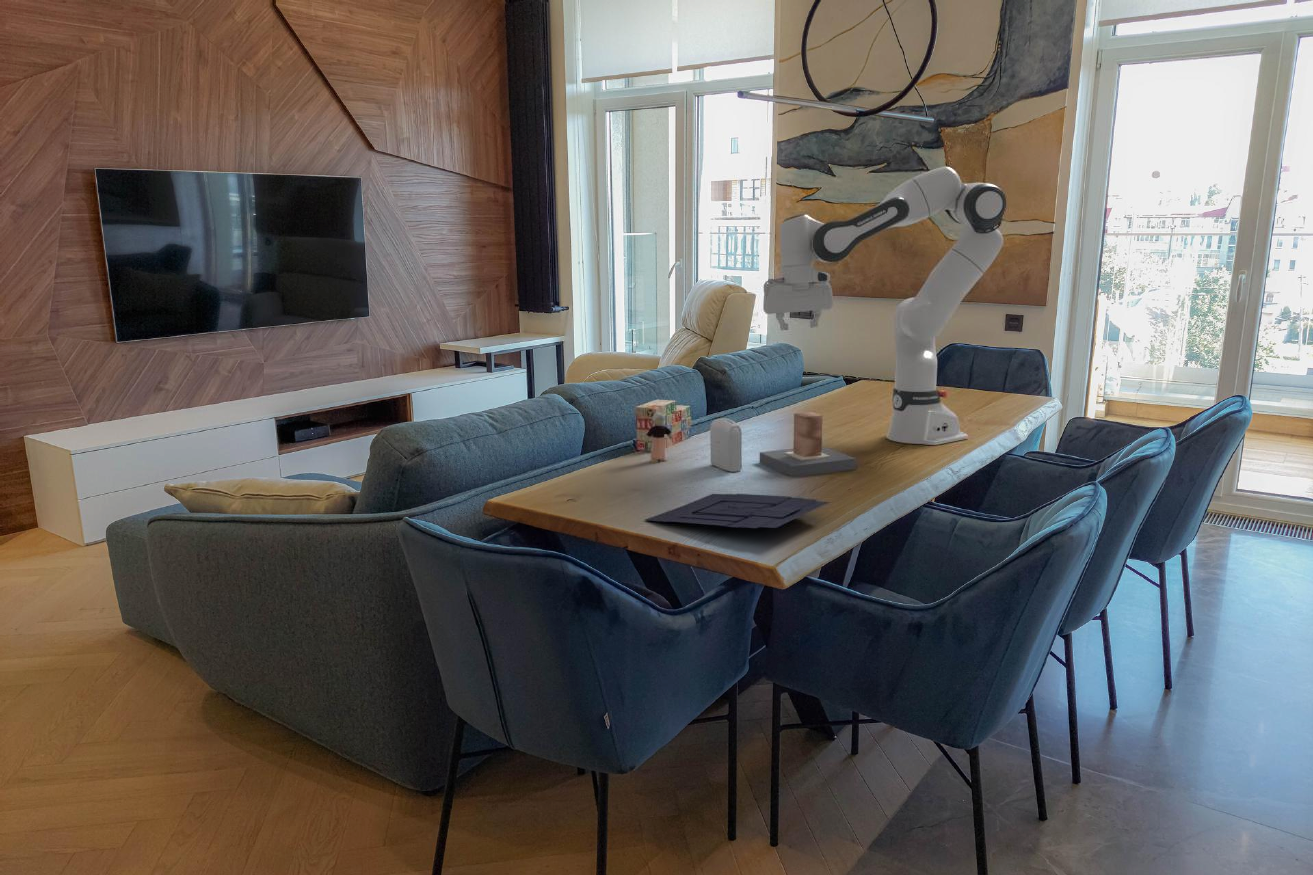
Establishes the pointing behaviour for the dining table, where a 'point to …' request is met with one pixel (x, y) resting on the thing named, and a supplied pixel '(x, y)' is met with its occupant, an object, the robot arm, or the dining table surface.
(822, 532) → the dining table surface
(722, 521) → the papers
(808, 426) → the terracotta block
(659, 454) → the grandmother figurine
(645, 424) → the stack of blocks
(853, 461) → the base plate
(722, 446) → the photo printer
